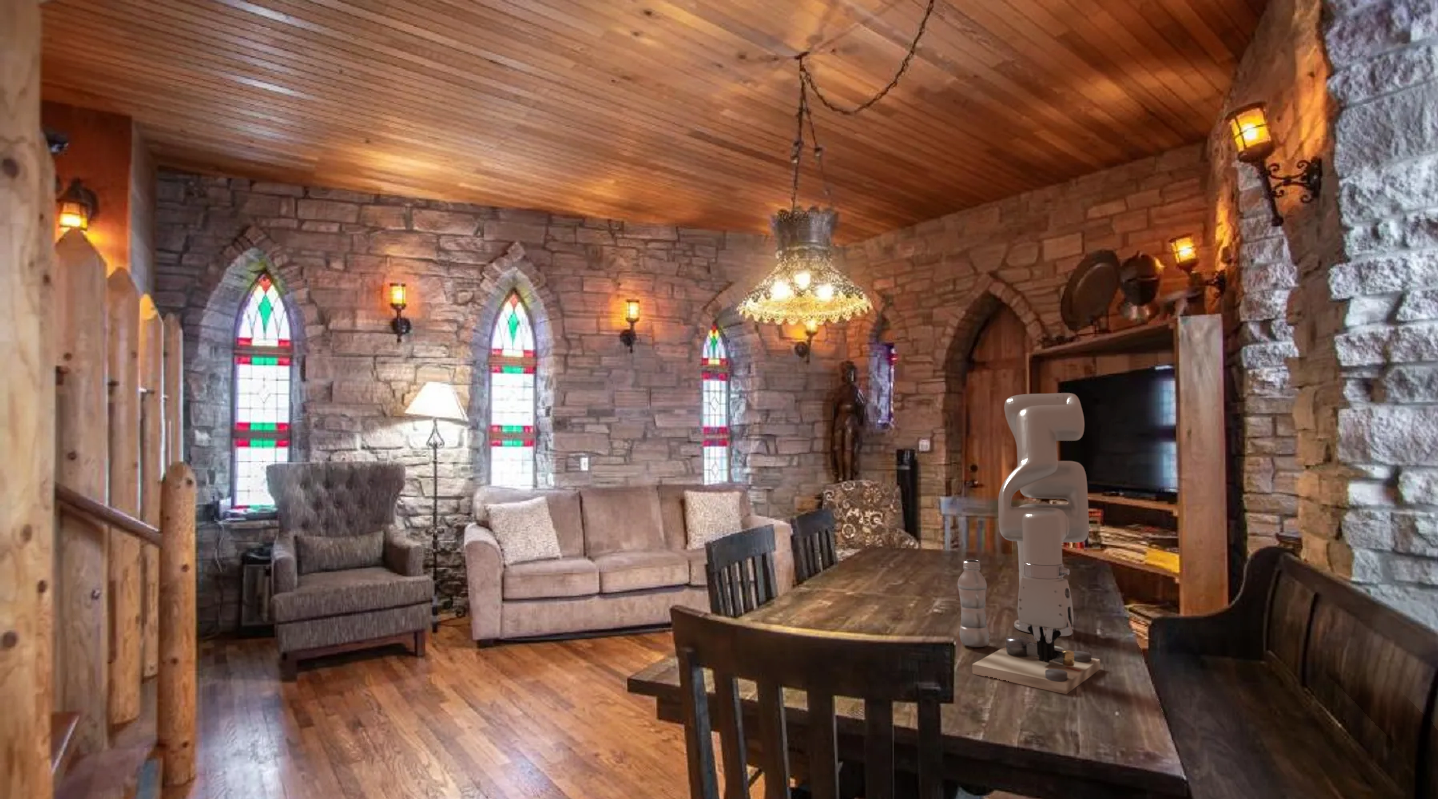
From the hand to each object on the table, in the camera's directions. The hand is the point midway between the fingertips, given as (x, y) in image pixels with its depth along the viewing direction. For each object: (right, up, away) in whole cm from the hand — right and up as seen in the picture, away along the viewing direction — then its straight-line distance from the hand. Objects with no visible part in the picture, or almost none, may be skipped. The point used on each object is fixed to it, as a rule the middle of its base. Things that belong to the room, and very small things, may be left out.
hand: (1046, 660), depth 159 cm
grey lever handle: (0, -1, +4) cm, 4 cm away
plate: (-1, -3, +2) cm, 4 cm away
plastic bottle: (-8, -4, +21) cm, 23 cm away
